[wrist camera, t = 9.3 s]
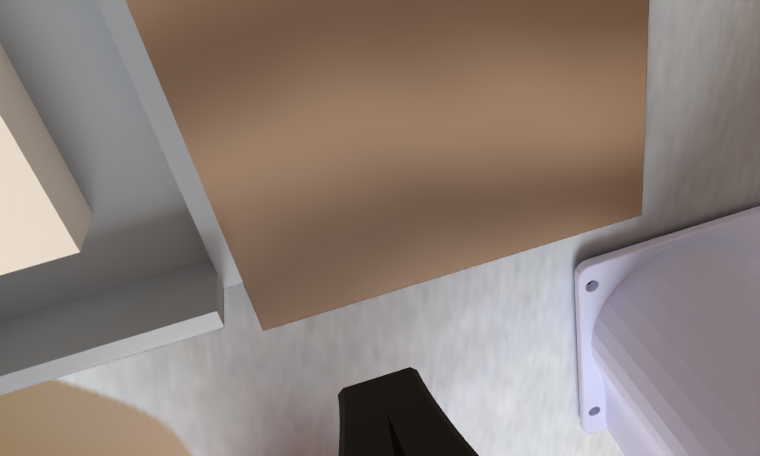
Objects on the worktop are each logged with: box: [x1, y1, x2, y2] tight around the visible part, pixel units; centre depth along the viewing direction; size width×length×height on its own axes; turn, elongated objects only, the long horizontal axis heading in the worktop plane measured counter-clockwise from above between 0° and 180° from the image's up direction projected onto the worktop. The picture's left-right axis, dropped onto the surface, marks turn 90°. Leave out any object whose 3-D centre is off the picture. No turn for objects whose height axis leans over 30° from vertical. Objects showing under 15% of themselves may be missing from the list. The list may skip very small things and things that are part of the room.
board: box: [125, 0, 649, 331], centre depth 17 cm, size 16×13×1 cm
